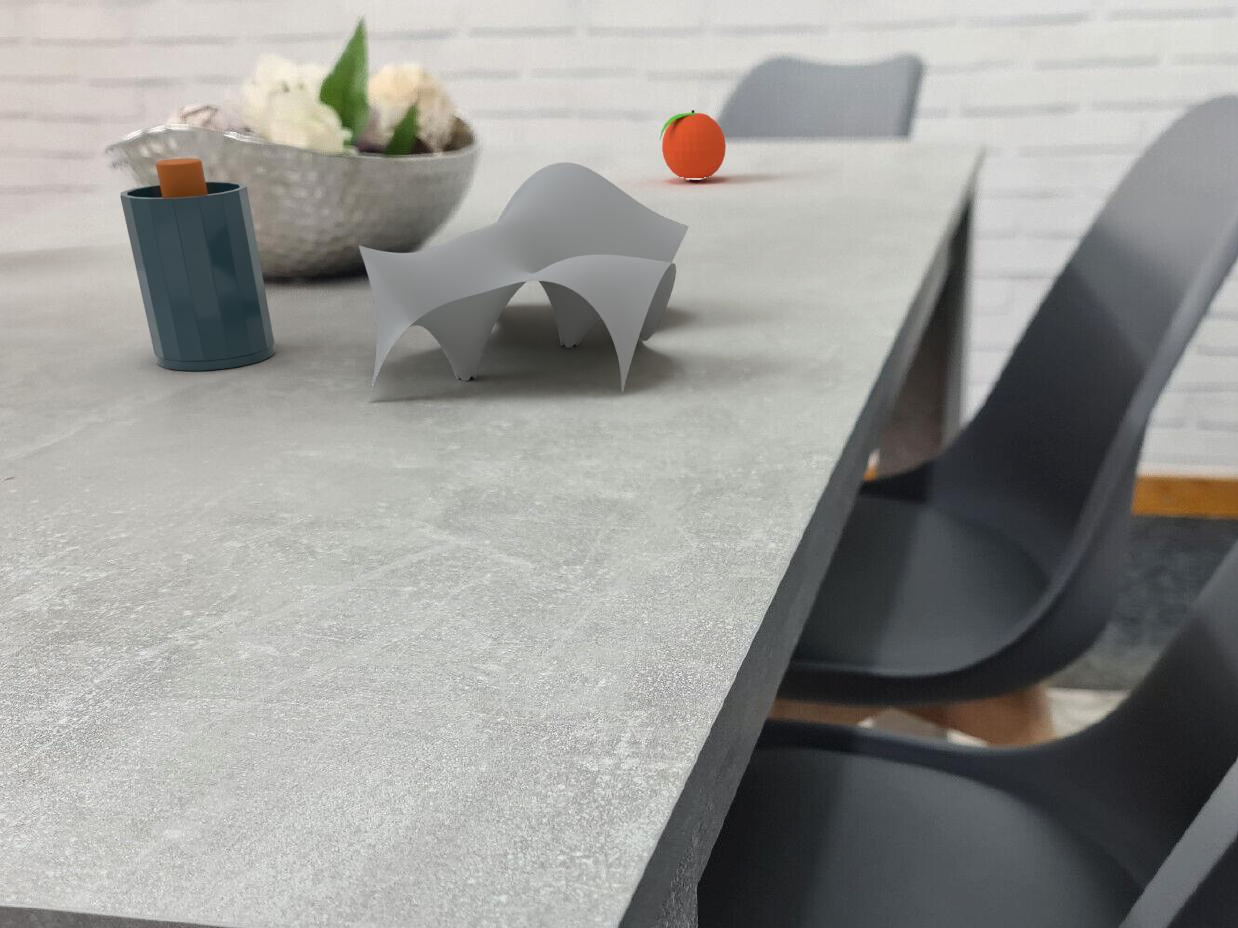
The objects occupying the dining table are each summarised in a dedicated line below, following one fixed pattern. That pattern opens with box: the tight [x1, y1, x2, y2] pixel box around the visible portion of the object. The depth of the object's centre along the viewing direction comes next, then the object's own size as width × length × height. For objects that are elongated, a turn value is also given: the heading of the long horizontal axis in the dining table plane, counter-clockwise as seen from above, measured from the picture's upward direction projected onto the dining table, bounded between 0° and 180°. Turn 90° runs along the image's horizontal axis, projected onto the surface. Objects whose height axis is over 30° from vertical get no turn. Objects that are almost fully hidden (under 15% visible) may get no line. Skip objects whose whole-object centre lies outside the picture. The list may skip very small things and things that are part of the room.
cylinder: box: [155, 157, 208, 198], centre depth 88 cm, size 3×3×11 cm
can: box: [119, 180, 276, 372], centre depth 89 cm, size 7×7×10 cm
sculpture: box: [358, 162, 689, 399], centre depth 90 cm, size 25×19×10 cm
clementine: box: [659, 109, 727, 178], centre depth 155 cm, size 8×7×7 cm
